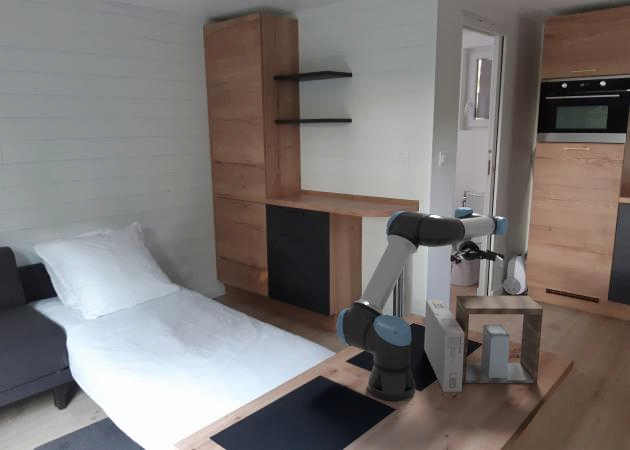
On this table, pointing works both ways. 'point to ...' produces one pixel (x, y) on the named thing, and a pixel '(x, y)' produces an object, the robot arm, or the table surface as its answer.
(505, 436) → the table surface
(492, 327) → the tall grey lidded box
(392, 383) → the robot arm
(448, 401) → the table surface
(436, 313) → the packaging
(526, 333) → the walnut shelf
